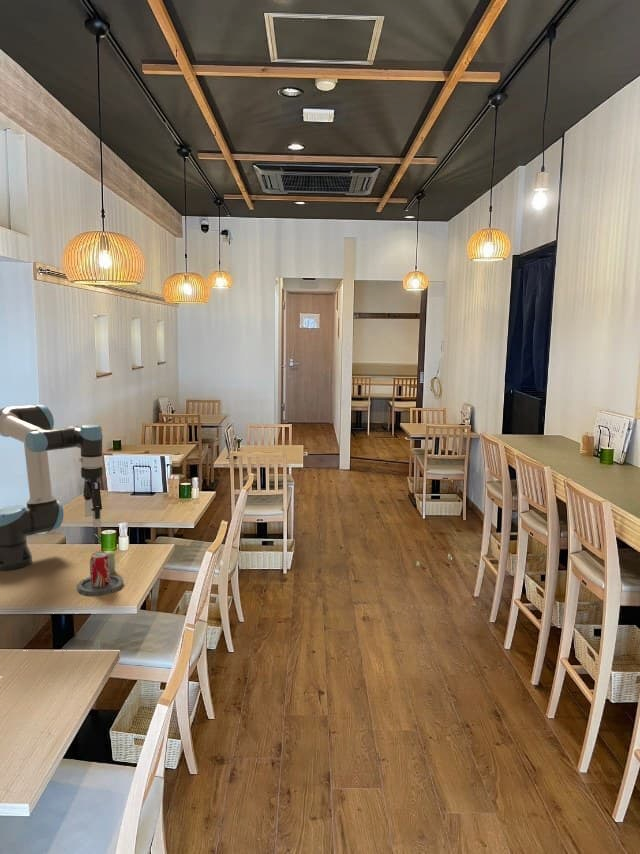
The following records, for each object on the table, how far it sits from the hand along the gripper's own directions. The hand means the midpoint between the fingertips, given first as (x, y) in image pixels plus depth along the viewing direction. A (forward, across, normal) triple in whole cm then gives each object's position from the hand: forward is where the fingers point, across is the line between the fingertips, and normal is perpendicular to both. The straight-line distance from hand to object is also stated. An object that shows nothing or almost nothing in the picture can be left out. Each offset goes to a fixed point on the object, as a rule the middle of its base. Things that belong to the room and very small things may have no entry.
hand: (92, 521), depth 230 cm
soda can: (+24, +5, +1) cm, 24 cm away
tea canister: (+25, -8, +7) cm, 27 cm away
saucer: (+24, +5, +1) cm, 25 cm away
